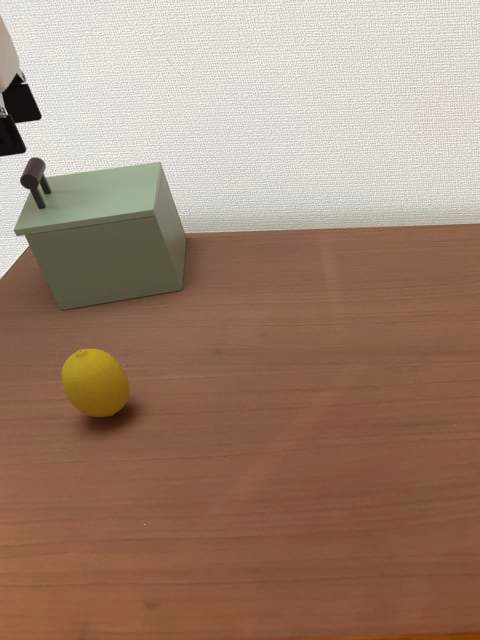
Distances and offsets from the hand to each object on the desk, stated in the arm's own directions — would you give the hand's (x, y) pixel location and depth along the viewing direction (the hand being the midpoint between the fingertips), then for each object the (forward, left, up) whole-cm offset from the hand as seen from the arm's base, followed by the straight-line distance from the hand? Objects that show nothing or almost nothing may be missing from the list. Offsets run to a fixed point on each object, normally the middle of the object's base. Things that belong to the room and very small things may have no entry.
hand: (19, 136), depth 91 cm
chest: (+5, 0, -18) cm, 19 cm away
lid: (+5, 0, -8) cm, 10 cm away
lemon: (+6, -30, -18) cm, 35 cm away
